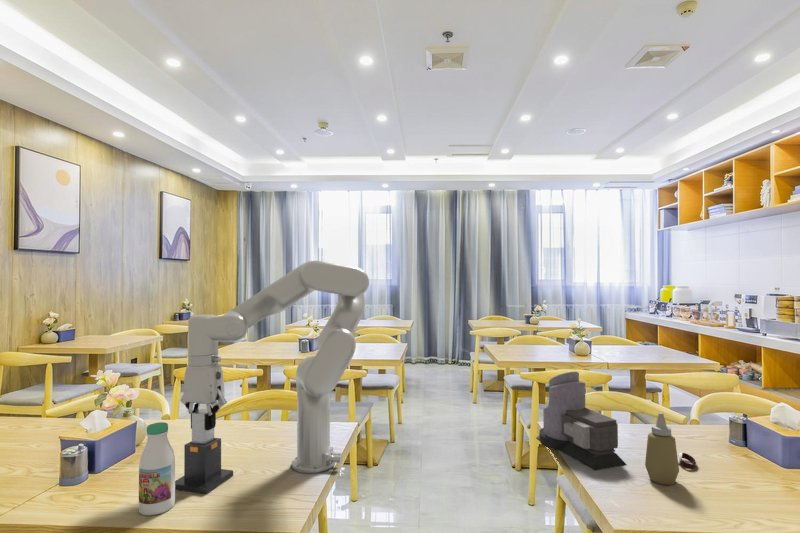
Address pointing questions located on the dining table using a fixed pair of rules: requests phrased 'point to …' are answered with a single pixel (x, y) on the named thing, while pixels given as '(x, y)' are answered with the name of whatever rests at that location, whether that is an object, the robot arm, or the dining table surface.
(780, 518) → the dining table surface
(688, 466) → the watch
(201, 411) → the stand column
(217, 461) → the stand base
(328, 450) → the robot arm
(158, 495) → the milk bottle
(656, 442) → the squeeze bottle
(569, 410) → the grey blocky piece
